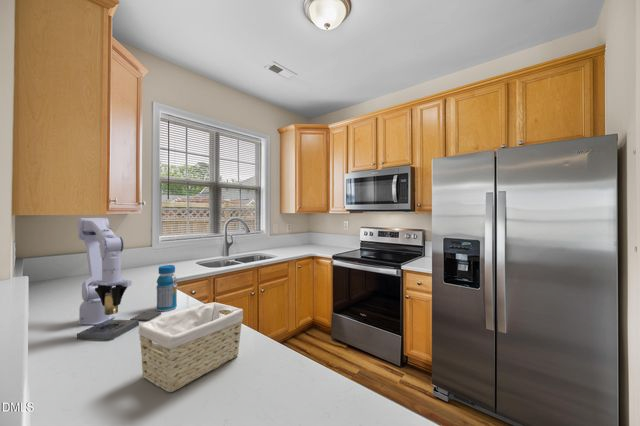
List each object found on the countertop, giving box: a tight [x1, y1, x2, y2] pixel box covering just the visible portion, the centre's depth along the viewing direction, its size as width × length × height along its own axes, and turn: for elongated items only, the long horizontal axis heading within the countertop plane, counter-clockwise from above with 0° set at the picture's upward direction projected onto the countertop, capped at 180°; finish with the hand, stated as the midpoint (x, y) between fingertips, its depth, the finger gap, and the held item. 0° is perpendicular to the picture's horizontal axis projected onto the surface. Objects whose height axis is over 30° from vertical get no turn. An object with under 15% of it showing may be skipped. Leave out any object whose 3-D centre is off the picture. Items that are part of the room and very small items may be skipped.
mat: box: [129, 311, 162, 322], centre depth 115 cm, size 8×8×1 cm
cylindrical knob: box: [105, 291, 119, 316], centre depth 101 cm, size 4×4×8 cm
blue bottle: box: [155, 264, 178, 312], centre depth 126 cm, size 8×8×20 cm
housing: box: [76, 319, 140, 341], centre depth 101 cm, size 13×13×2 cm
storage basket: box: [138, 302, 244, 393], centre depth 78 cm, size 24×16×15 cm
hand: (111, 305), depth 101 cm, fingers closed on cylindrical knob, 4 cm apart
